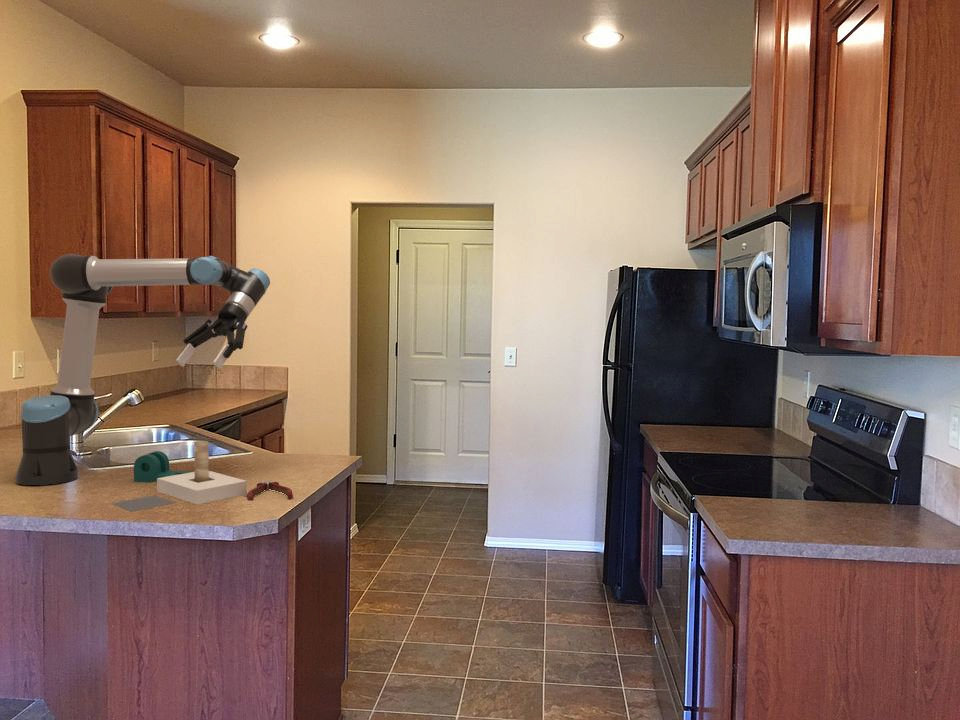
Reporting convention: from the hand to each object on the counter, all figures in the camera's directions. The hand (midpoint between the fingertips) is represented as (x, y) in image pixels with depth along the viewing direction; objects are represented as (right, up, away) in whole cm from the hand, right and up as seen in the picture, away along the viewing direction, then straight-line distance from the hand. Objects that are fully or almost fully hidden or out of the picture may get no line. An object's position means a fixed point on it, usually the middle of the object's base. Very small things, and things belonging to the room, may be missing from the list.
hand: (197, 364), depth 198 cm
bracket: (-10, -34, +6) cm, 36 cm away
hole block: (+5, -34, -10) cm, 36 cm away
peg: (+5, -34, -10) cm, 36 cm away
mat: (-5, -35, -21) cm, 41 cm away
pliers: (+23, -35, -6) cm, 42 cm away
